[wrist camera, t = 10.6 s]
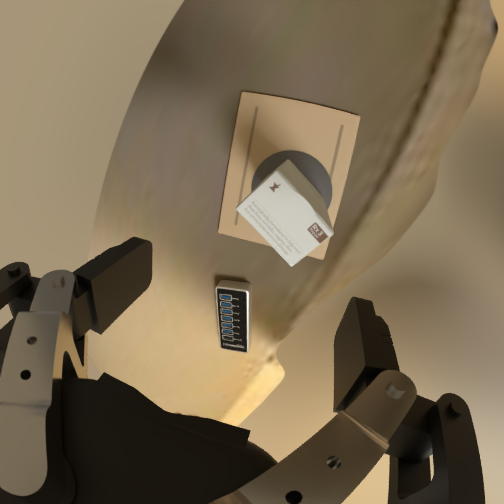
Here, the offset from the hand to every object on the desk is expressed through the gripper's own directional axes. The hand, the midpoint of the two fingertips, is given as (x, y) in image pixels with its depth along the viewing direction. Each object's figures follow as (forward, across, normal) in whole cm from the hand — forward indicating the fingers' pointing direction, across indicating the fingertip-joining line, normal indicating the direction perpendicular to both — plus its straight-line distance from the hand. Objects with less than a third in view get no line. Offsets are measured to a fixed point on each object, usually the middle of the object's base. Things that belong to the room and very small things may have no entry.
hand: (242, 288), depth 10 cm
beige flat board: (+22, +1, -1) cm, 22 cm away
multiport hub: (+23, +4, +19) cm, 30 cm away
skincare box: (+22, 0, 0) cm, 22 cm away
